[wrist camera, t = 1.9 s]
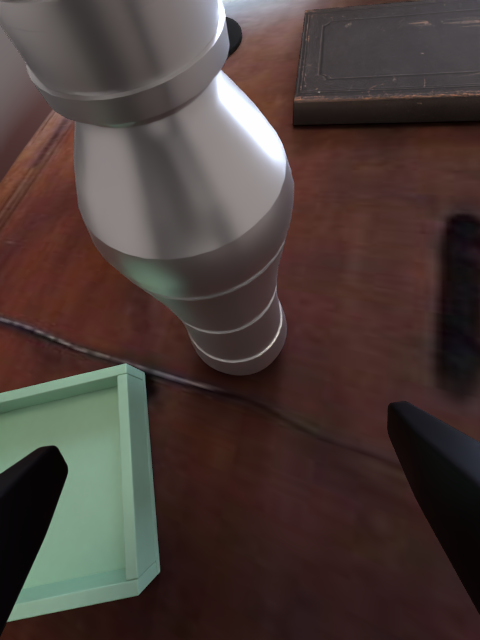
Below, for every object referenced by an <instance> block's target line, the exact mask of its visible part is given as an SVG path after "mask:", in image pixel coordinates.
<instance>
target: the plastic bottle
mask: <svg viewBox="0 0 480 640" xmlns="http://www.w3.org/2000/svg"><path fill="white" fill-rule="evenodd" d="M0 26H1V27H2V28H3V30H4V31H5V33H6V34H7V36H8V37H9V38H10V40H11V42H12V43H13V44H14V46H15V47H16V49H17V50H18V52H19V53H20V55H21V56H22V58H23V59H24V60H25V62H26V69H27V71H28V74H29V77H30V79H31V80H32V82H33V83H34V84H35V86H36V88H37V89H38V90H39V92H40V93H41V95H42V96H43V97H44V99H45V100H46V102H47V103H48V104H49V105H50V106H51V107H52V109H53V110H54V111H55V112H57V113H59V114H60V115H62V116H64V117H65V118H67V119H70V120H73V121H75V136H74V169H75V180H76V190H77V199H78V208H79V210H80V213H81V215H82V218H83V220H84V223H85V225H86V227H87V230H88V232H89V234H90V236H91V239H92V241H93V243H94V245H95V247H96V248H97V250H98V251H99V252H100V254H101V255H102V256H103V258H104V259H105V260H106V261H108V262H109V263H110V264H111V265H112V266H113V267H115V268H116V269H117V270H118V271H119V272H120V273H121V274H123V275H124V276H125V277H126V278H127V279H129V280H130V281H131V282H132V283H134V284H136V285H137V286H138V287H140V288H141V289H143V290H144V291H145V292H147V293H148V294H150V295H151V296H153V297H154V298H156V299H157V300H159V301H160V302H161V303H163V304H164V305H166V306H167V307H168V308H169V309H170V310H171V311H172V312H173V313H174V314H175V315H176V316H178V318H179V319H180V320H181V321H182V322H183V323H184V325H185V327H186V329H187V330H188V334H189V338H190V340H191V342H192V344H193V346H194V348H195V350H196V352H197V354H198V355H199V356H200V358H201V359H202V360H203V361H204V362H205V363H206V364H207V365H209V366H210V367H212V368H214V369H215V370H217V371H220V372H223V373H226V374H231V375H239V376H240V375H250V374H253V373H257V372H259V371H261V370H263V369H265V368H266V367H267V366H268V365H270V364H271V363H272V362H273V361H274V359H275V358H276V357H277V356H278V355H279V353H280V352H281V350H282V348H283V346H284V343H285V339H286V335H287V324H286V318H285V315H284V311H283V309H282V306H281V304H280V302H279V300H278V295H277V291H276V285H277V274H278V266H279V262H280V259H281V255H282V251H283V247H284V244H285V240H286V236H287V232H288V229H289V225H290V222H291V215H292V208H293V202H294V182H293V177H292V173H291V169H290V166H289V163H288V159H287V156H286V153H285V150H284V147H283V144H282V142H281V140H280V139H279V137H278V135H277V133H276V131H275V130H274V129H273V127H272V126H271V125H270V123H269V122H268V121H267V120H266V118H265V117H264V116H263V114H262V113H261V112H260V110H259V109H258V108H257V107H256V105H255V104H254V103H253V102H252V101H251V100H250V99H249V98H248V97H247V95H246V94H245V93H244V92H243V91H242V90H241V89H240V88H239V87H238V86H237V85H236V84H235V83H234V82H233V81H232V80H231V79H230V78H229V77H228V76H227V75H226V74H225V73H224V72H223V71H222V70H221V69H222V67H223V65H224V63H225V61H226V59H227V56H228V51H229V46H230V45H229V38H228V31H227V24H226V17H225V11H224V5H223V4H222V2H221V0H0Z"/></svg>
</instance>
